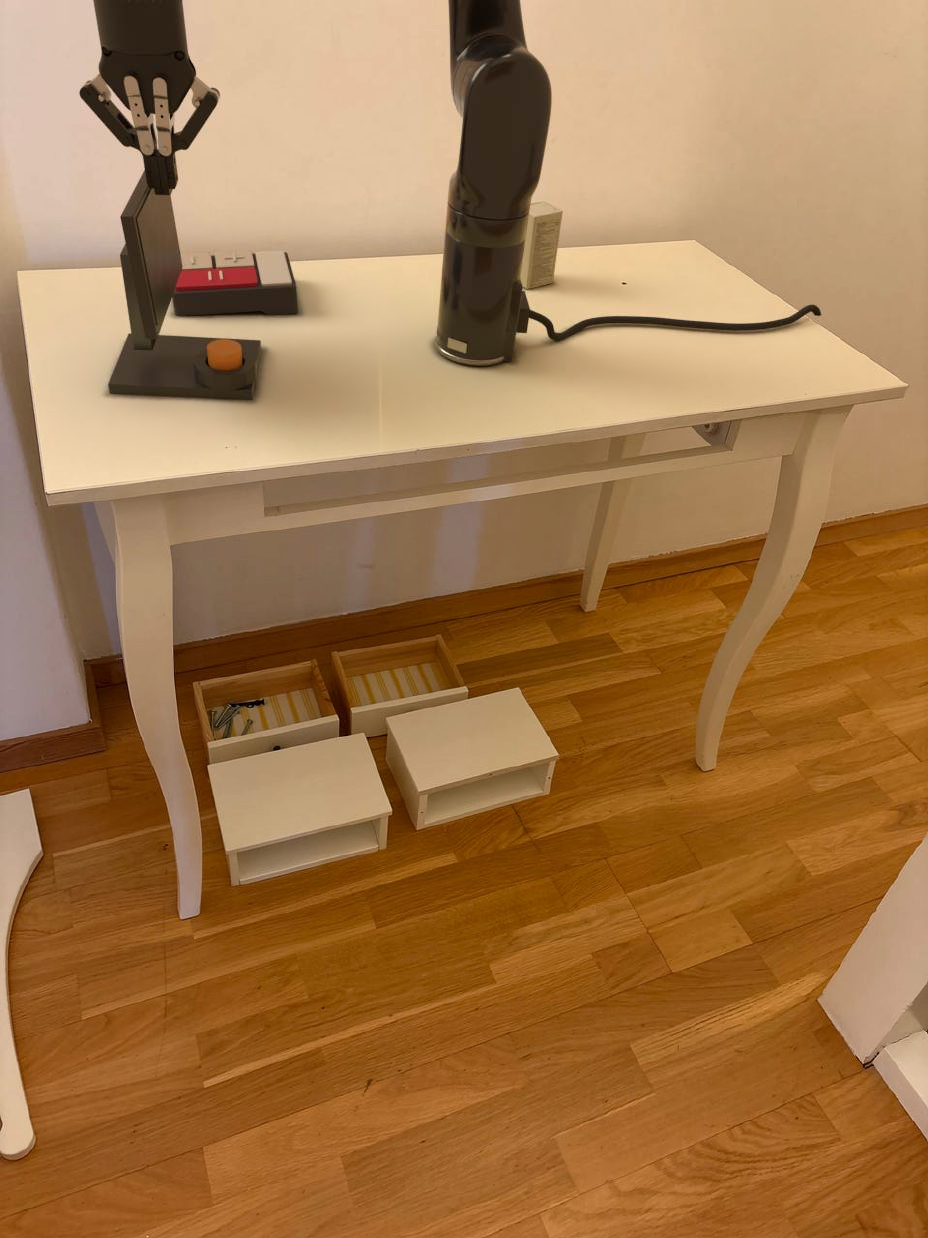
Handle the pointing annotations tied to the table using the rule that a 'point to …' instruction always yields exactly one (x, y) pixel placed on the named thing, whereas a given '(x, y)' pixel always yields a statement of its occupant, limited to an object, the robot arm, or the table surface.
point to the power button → (224, 354)
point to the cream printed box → (540, 245)
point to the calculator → (235, 283)
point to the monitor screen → (151, 253)
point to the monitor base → (183, 370)
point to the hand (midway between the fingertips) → (164, 192)
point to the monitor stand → (133, 306)
